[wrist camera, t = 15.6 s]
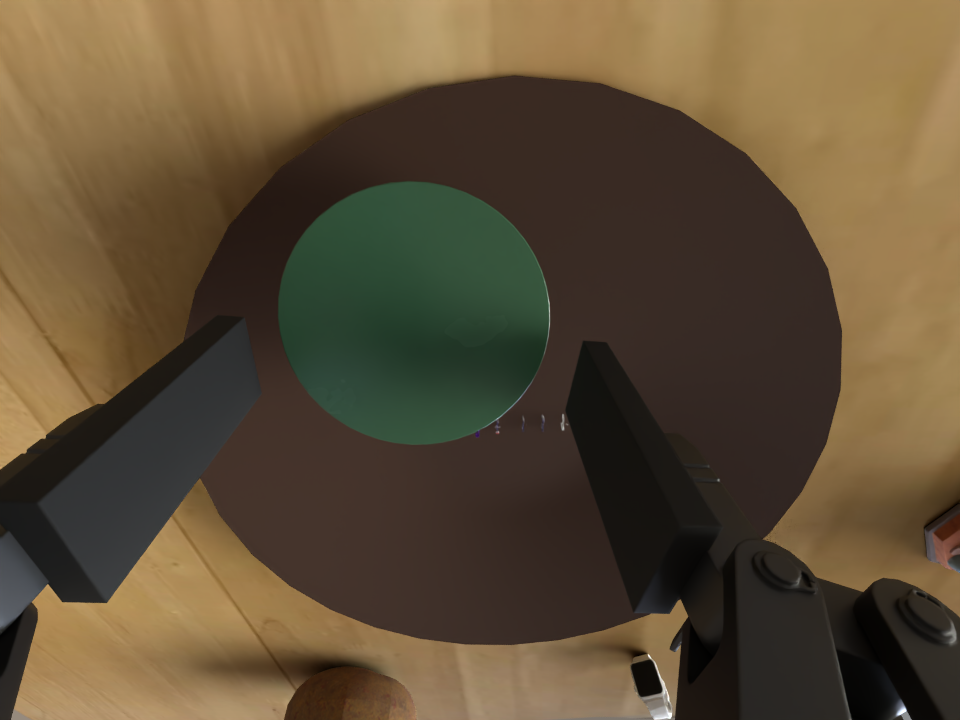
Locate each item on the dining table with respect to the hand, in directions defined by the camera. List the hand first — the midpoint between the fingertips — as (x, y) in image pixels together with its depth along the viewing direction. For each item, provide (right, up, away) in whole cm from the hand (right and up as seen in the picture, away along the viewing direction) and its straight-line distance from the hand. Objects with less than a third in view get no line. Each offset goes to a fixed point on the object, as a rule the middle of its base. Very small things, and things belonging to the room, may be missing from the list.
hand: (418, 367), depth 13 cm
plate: (+3, -3, +7) cm, 9 cm away
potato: (-8, -25, +21) cm, 33 cm away
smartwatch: (+15, -24, +21) cm, 35 cm away
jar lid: (0, +1, 0) cm, 1 cm away
